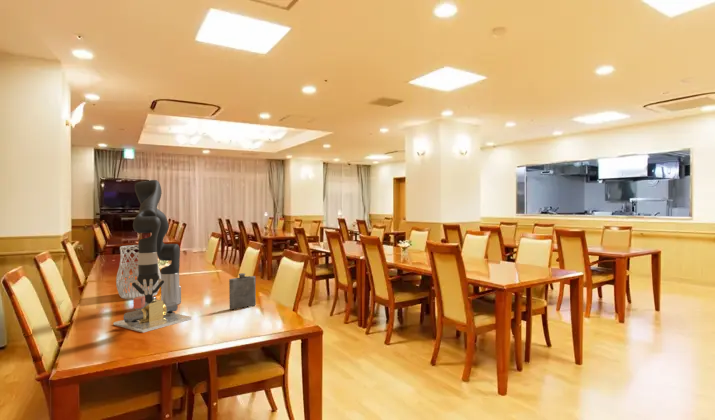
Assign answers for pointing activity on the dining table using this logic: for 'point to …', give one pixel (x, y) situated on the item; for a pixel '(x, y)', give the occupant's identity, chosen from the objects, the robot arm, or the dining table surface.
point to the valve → (152, 317)
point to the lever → (140, 302)
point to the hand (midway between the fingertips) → (149, 303)
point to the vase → (123, 265)
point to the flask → (242, 291)
